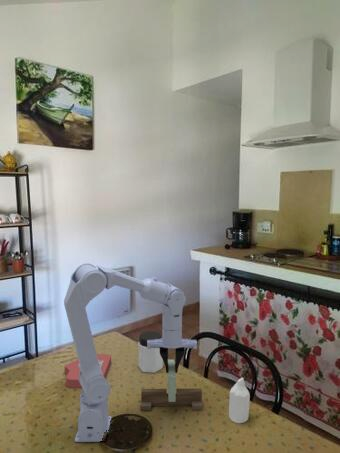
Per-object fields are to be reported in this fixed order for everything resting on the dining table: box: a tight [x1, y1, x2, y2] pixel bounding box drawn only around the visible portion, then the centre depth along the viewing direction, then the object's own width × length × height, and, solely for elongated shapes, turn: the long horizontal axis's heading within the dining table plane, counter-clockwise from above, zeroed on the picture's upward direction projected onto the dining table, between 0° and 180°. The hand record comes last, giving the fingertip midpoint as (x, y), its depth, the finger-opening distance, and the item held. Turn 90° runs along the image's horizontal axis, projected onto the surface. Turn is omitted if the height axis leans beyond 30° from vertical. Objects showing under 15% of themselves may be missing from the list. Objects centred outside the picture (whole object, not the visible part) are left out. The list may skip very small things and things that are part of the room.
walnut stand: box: [140, 388, 204, 412], centre depth 102 cm, size 6×18×4 cm, turn 91°
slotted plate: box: [167, 359, 177, 402], centre depth 101 cm, size 10×2×8 cm, turn 1°
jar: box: [137, 330, 164, 374], centre depth 123 cm, size 9×8×12 cm
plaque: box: [64, 353, 112, 389], centre depth 119 cm, size 18×4×15 cm
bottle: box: [228, 377, 251, 424], centre depth 96 cm, size 6×12×6 cm
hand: (171, 371), depth 101 cm, fingers closed on slotted plate, 2 cm apart
